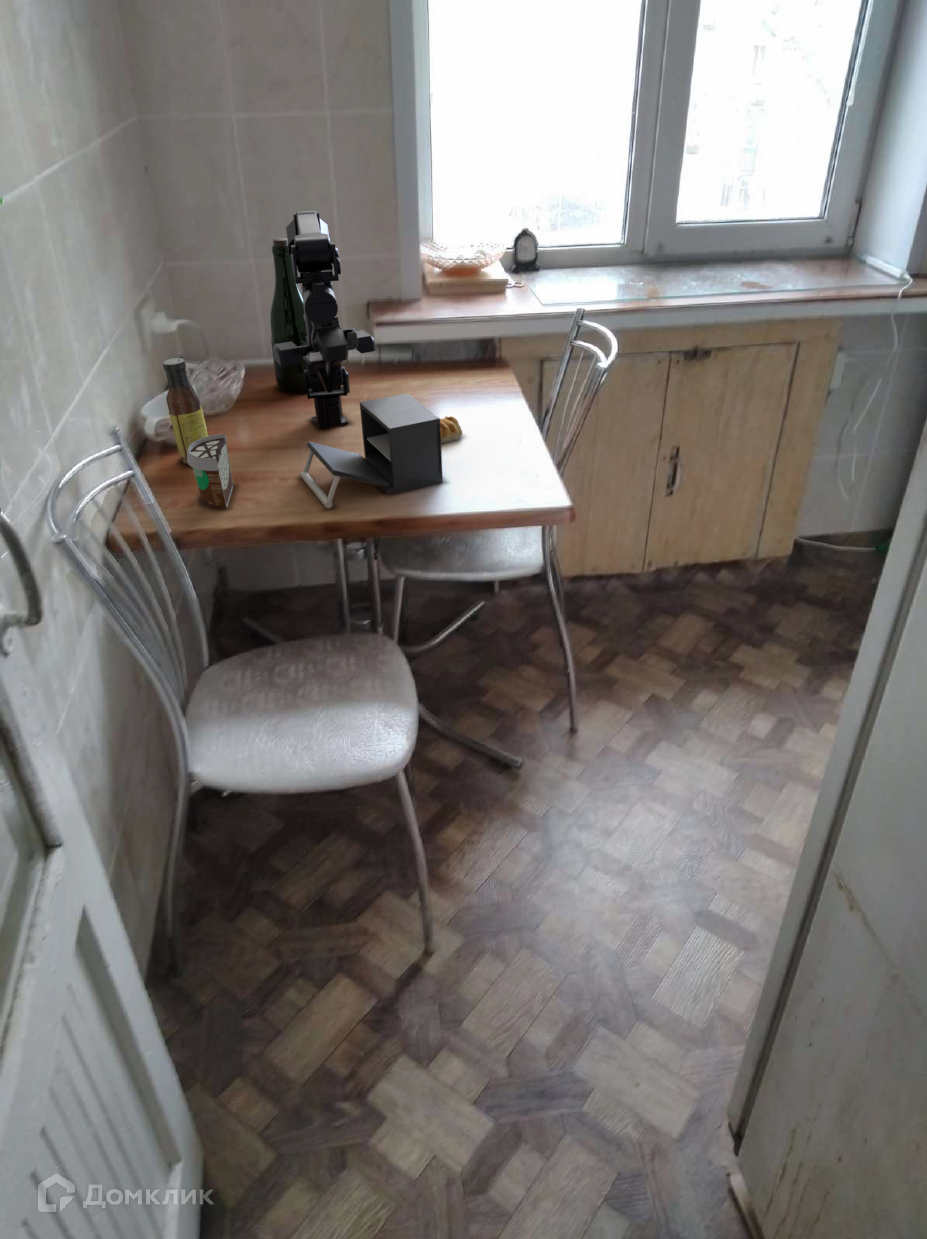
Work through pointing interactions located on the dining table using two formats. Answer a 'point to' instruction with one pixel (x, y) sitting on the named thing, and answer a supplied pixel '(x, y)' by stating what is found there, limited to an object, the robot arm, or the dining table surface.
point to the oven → (402, 442)
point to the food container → (212, 470)
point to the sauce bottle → (183, 407)
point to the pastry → (449, 429)
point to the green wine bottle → (287, 317)
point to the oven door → (340, 469)
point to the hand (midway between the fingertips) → (329, 392)
